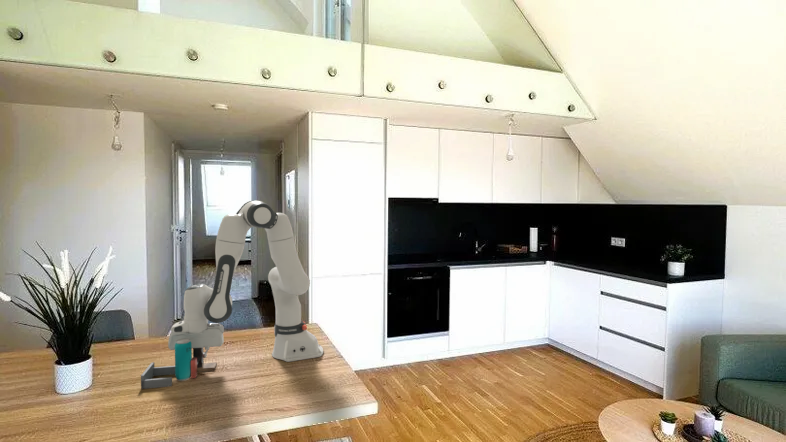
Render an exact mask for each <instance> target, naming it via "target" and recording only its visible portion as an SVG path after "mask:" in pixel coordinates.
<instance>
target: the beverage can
mask: <svg viewBox="0 0 786 442" xmlns="http://www.w3.org/2000/svg"><path fill="white" fill-rule="evenodd" d="M192 358H193V348H192V343H191V339H189V338H183V339H179V340H177V341H176V344H175V350H174V366H175V374H174V376H175V378H176V380H177V381H179V382H184V381H188V380H189V379H191V359H192Z"/></svg>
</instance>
